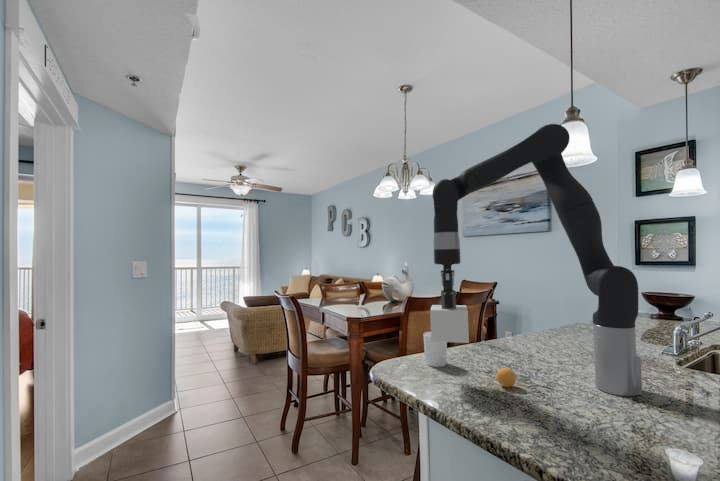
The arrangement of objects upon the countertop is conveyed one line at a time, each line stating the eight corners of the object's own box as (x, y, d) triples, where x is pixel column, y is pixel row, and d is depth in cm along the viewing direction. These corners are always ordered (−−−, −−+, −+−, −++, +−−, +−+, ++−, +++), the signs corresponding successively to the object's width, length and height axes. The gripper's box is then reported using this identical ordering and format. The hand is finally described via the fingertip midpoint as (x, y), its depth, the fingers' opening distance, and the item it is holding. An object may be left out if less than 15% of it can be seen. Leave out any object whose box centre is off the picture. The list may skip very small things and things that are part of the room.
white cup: (448, 368, 111) (447, 337, 112) (423, 367, 113) (423, 336, 113) (447, 360, 119) (446, 331, 120) (424, 359, 121) (423, 331, 121)
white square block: (467, 334, 104) (465, 288, 105) (469, 342, 94) (467, 292, 95) (433, 333, 107) (431, 288, 107) (431, 341, 97) (429, 292, 97)
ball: (514, 384, 97) (513, 366, 97) (517, 390, 92) (517, 372, 93) (495, 382, 98) (495, 364, 99) (497, 389, 94) (497, 370, 94)
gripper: (460, 247, 94) (462, 310, 93) (459, 248, 107) (461, 303, 107) (432, 248, 96) (434, 310, 95) (434, 248, 109) (436, 302, 109)
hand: (448, 306), depth 101 cm, fingers closed on white square block, 4 cm apart
